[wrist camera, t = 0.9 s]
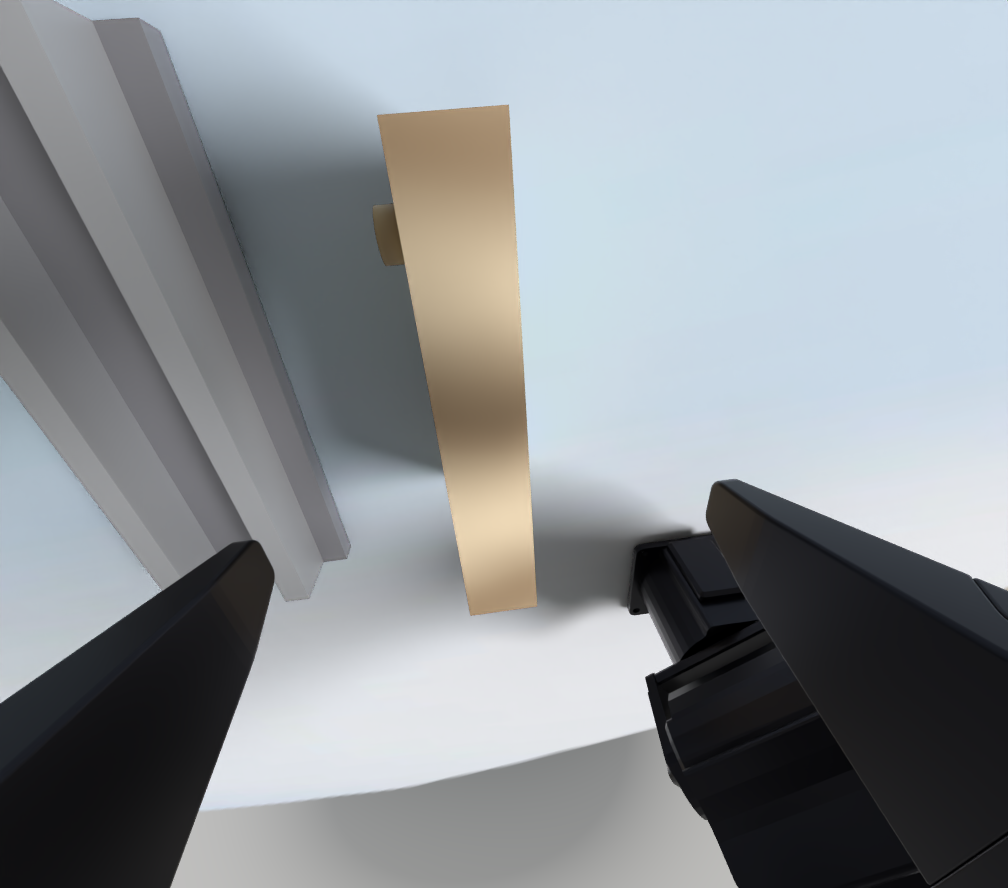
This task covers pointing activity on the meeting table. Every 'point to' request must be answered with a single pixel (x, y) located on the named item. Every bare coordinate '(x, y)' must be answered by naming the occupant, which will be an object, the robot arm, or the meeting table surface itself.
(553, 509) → the meeting table surface
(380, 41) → the meeting table surface
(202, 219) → the door track
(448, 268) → the door panel
